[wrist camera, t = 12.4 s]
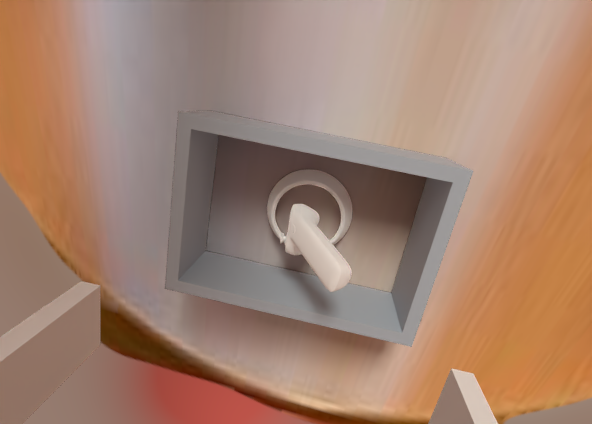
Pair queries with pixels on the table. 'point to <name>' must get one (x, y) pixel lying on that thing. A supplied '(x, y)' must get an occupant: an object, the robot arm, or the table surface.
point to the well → (296, 285)
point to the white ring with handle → (314, 227)
